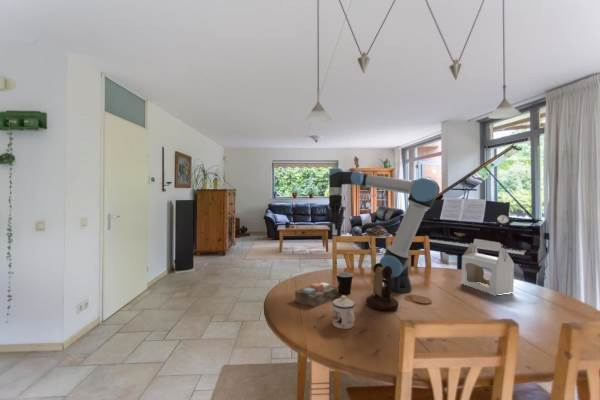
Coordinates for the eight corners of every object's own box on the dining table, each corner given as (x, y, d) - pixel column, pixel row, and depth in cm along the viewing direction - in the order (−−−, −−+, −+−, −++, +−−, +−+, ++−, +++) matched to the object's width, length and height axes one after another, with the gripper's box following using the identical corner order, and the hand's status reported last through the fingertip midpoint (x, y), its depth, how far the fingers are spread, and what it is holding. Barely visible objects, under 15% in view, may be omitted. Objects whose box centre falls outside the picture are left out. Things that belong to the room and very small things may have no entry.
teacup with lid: (327, 321, 120) (328, 293, 120) (346, 318, 123) (346, 291, 123) (343, 334, 109) (344, 304, 109) (363, 330, 113) (363, 300, 112)
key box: (319, 292, 156) (319, 282, 156) (337, 297, 148) (337, 287, 148) (295, 301, 142) (295, 290, 142) (313, 307, 134) (313, 296, 134)
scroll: (360, 302, 141) (360, 262, 141) (384, 299, 147) (384, 260, 147) (379, 314, 128) (380, 269, 128) (405, 309, 134) (406, 266, 133)
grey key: (308, 297, 144) (308, 287, 144) (315, 299, 141) (315, 289, 141) (302, 299, 141) (302, 289, 141) (309, 301, 138) (309, 291, 138)
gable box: (513, 294, 158) (515, 243, 157) (496, 296, 153) (497, 244, 153) (477, 282, 179) (478, 237, 178) (460, 284, 174) (461, 238, 174)
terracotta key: (316, 292, 149) (316, 282, 148) (322, 294, 146) (323, 284, 145) (310, 294, 145) (310, 284, 145) (317, 296, 142) (317, 286, 142)
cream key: (323, 291, 153) (323, 282, 153) (329, 293, 150) (330, 284, 150) (318, 293, 150) (318, 284, 150) (324, 295, 147) (324, 286, 147)
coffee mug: (352, 296, 150) (352, 277, 150) (335, 295, 152) (335, 276, 152) (352, 289, 162) (353, 271, 161) (337, 288, 163) (337, 270, 163)
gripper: (322, 194, 171) (322, 234, 171) (341, 194, 162) (340, 236, 162) (330, 194, 176) (329, 233, 177) (348, 195, 168) (347, 235, 168)
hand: (334, 234), depth 170 cm, fingers closed
